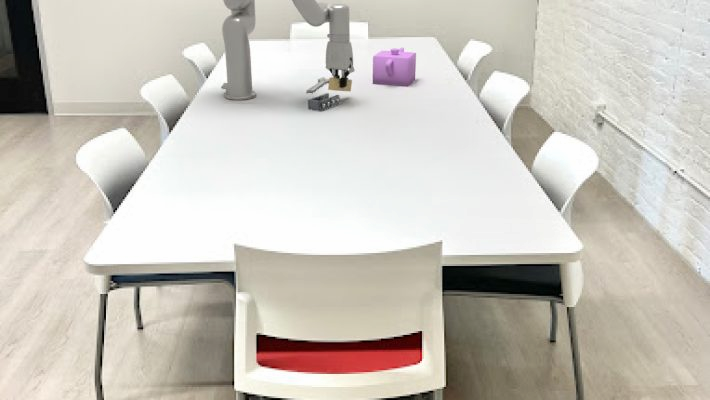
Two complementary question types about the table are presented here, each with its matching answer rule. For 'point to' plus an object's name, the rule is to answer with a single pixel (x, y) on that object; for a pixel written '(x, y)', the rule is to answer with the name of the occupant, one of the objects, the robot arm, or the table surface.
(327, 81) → the adjustable wrench
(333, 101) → the chain end grey
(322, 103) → the chain end dark
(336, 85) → the master link
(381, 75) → the teapot
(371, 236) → the table surface
